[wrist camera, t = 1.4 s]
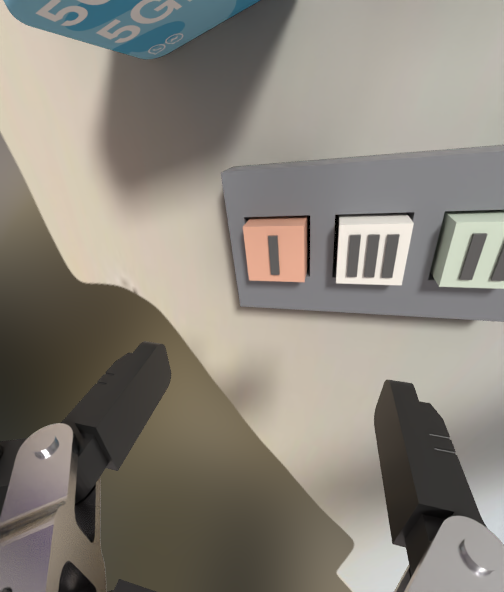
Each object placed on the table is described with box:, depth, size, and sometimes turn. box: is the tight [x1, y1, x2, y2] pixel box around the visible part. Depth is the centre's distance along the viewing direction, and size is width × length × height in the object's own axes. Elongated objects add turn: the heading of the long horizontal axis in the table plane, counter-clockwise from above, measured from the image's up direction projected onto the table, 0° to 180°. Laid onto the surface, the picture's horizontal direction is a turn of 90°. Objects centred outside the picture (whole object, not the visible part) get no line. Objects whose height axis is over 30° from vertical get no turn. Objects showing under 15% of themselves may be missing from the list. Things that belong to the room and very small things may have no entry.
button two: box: [430, 210, 504, 289], centre depth 19 cm, size 5×5×3 cm
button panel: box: [221, 145, 504, 322], centre depth 22 cm, size 22×12×3 cm, turn 96°
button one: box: [243, 215, 308, 282], centre depth 23 cm, size 5×5×3 cm
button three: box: [336, 212, 414, 285], centre depth 21 cm, size 5×5×3 cm
